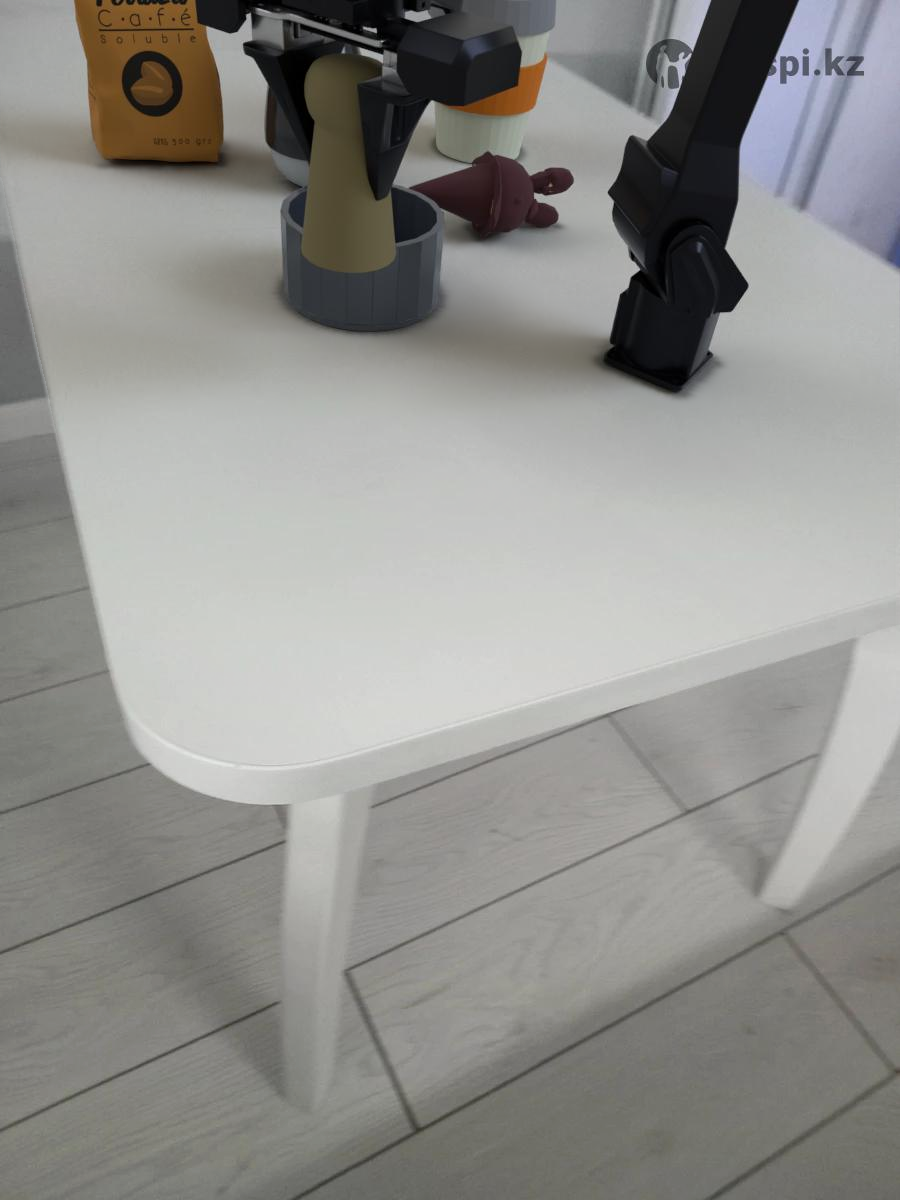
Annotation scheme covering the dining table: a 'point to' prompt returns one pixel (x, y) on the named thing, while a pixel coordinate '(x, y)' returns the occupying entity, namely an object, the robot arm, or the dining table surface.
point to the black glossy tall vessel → (288, 137)
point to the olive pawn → (343, 173)
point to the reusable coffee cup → (506, 113)
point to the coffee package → (150, 80)
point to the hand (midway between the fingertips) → (351, 187)
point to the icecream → (497, 194)
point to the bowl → (375, 294)
